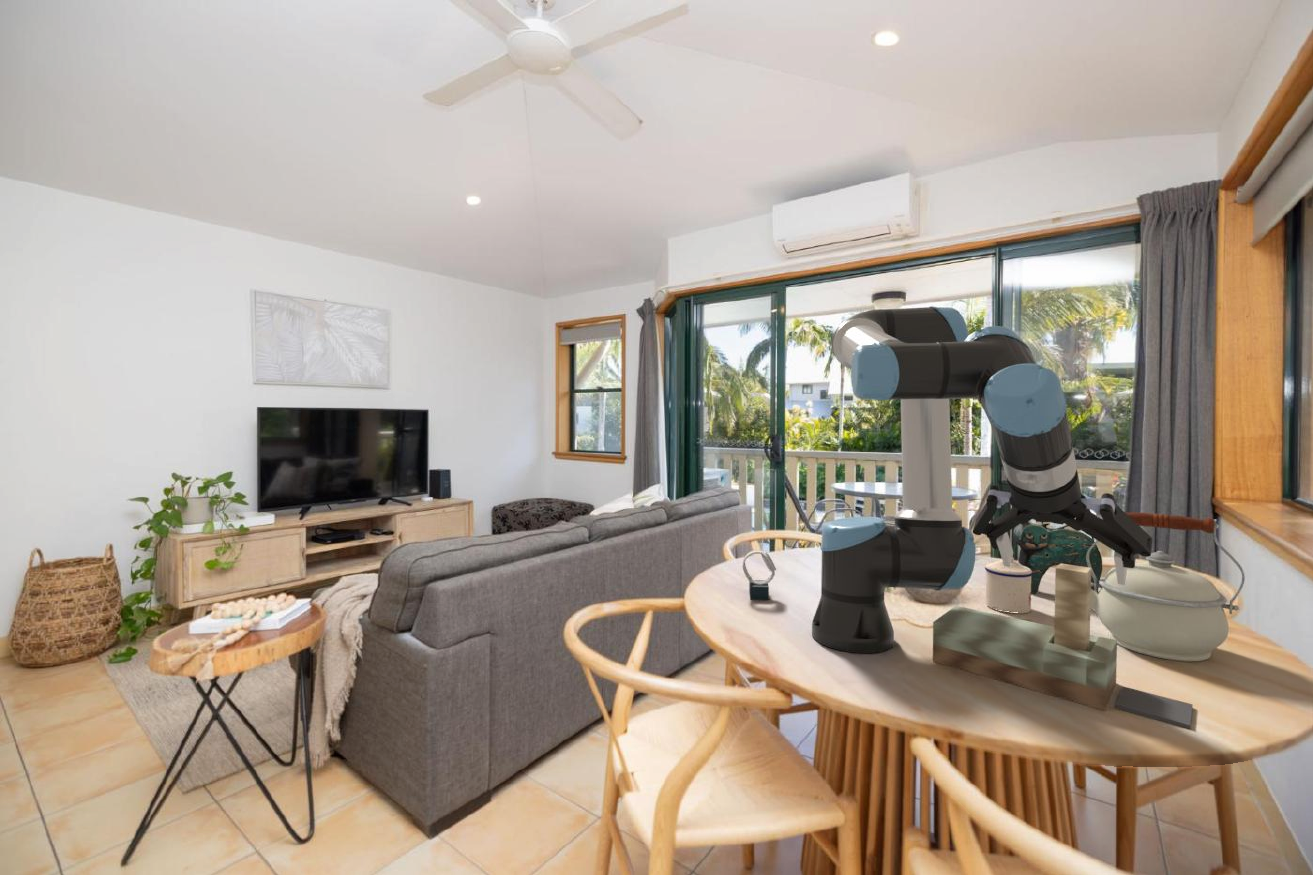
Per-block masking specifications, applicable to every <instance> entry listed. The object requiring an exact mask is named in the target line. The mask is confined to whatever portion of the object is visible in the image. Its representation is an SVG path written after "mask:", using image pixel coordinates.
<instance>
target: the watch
mask: <svg viewBox="0 0 1313 875" xmlns="http://www.w3.org/2000/svg"><path fill="white" fill-rule="evenodd" d="M755 554H757V555H758V554H760V555H761V557H762V560H763V562H764V563H765V566H766V568H767V569H768V570H769V571H770V572H771V575H770V576H769V577H768V578H767V579H765V580H763V579H762V580H761V579H759V580H758V579H756V580H755V579H753V576H752V575H751V574H750V573H749V570H748V569H747V566H746V560H747V559H748V558H749V557H750V556H752V555H755ZM742 570H743V573H744V575H745V578H747V580H748V585H749V586H748V587H749V590H748V592H749V599H750V600H751V601H755V600H756V601H769V600H770V598H769V596H770V592H769V591H770V589H769V588H770V587H769V583H770V582H771V581H772V580H773V579H774V577H775V574H776V573H775V571H777V568H776V565H775V564H774V562H773V559H772V558H771V556H770V554H769V553H768V552H767V551H763V550H758V549H755V550H751V551H749V552H748V553H747V554H745V556H744V557H743V560H742Z"/></svg>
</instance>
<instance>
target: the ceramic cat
mask: <svg viewBox="0 0 1313 875" xmlns="http://www.w3.org/2000/svg"><path fill="white" fill-rule="evenodd" d="M1049 525H1050V522H1041V524H1037V523H1033V522H1030V521H1028V522H1026V523H1025V524H1023V525H1021V524H1019V525H1017V526H1016V527H1014V528H1013V534H1012V536H1013V540H1014V542H1015V543H1016V544H1017V545H1018V546H1019V548H1020V550H1019V555H1018V561H1017V562H1018V563H1020V564H1021V565H1023V566H1025V567H1028V568H1030V569H1031V571H1032V573H1033V575H1032V576H1031V594H1039V591H1040V590H1039V589H1040V585H1041V581H1042V579H1043V577H1044V575H1045V574H1046V572H1047V571H1048V570H1049V569H1050V568H1052V567H1055V566H1058V565H1059V564H1061V563H1062V564H1069V565H1075V566H1082V567H1088V565H1087V561H1086V555H1087V551H1088V550H1089V548H1090V547H1091V546H1092V545H1093V544H1094V543H1095V542H1096V541H1095V539H1094V538H1093V537H1091V536H1090V535H1088V534H1086V533H1085V532H1083V531H1082V532H1081V531H1076V530H1074V529H1072V528H1071V529H1069V528H1067V527H1069V526H1068V525H1066V524H1064V525H1063V526H1059V527H1055V528H1049V527H1048V526H1049ZM1089 560H1090V564H1091V567H1092V570H1093V572H1094V574H1095V576H1096V578H1097V583H1098V584H1100V583H1099V580H1100V579H1101V578H1102V574H1103V557H1102V554H1101V552H1100V549H1099V547H1098V545H1097V544H1096V545H1094V546H1093V548H1092V549H1091V550H1090V553H1089ZM1091 582H1092V583H1094V579H1093V577H1092V575H1091ZM1091 589H1092V590H1094V587H1091ZM1096 592H1099V588H1097V591H1096Z"/></svg>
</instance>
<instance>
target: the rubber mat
mask: <svg viewBox="0 0 1313 875" xmlns="http://www.w3.org/2000/svg"><path fill="white" fill-rule="evenodd" d="M1115 709H1118V710H1121V711H1125V712H1128V713H1132V714H1135V715H1138V716H1143V717H1146V718H1149V719H1154V720H1157V721H1161V722H1164V723H1167V724H1171V725H1175V726H1178V727H1181V728H1185V729H1187V730H1188V729H1189V730H1191V724H1192V716H1193V703H1189V702H1184V701H1180V700H1178V699H1174V698H1170V697H1165V696H1161V695H1157V694H1154V693H1150V692H1146V691H1142V690H1139V689H1134V688H1131V687H1127V686H1122V687H1121V690H1120V692H1119V695H1118V698H1117V700H1116V703H1115Z"/></svg>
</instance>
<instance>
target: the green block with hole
mask: <svg viewBox="0 0 1313 875" xmlns="http://www.w3.org/2000/svg"><path fill="white" fill-rule="evenodd" d="M1054 628H1055V626H1054V625H1053V626H1052V625H1047V624H1043V623H1038V622H1034V621H1029V620H1024V619H1020V618H1019V619H1018V618H1015V617H1010V616H1007V615H1005V616H1004V615H1002V614H997V613H992V612H987V611H983V610H977V609H974V608H973V609H972V608H968V607H963V606H958V605H955V606H953V607H952V608H950V609H949V610H948V611H947V612H945V613H943V614H942V615H941V616H939V617H938V618H937V619H935V620H934V621H933V623H932V662H934V663H938V664H940V665H944V666H949V667H951V668H956V669H959V670H962V671H965V672H969V673H973V674H976V675H979V676H983V677H986V678H989V679H993V680H998V681H1000V682H1004V683H1008V684H1011V685H1014V686H1018V687H1022V688H1023V689H1024V688H1025V689H1029V690H1032V691H1036V692H1039V693H1042V694H1046V695H1049V696H1053V697H1057V698H1059V699H1062V700H1063V699H1064V700H1068V701H1071V702H1074V703H1077V704H1080V705H1084V706H1088V707H1091V708H1095V709H1098V710H1101V711H1106V710H1107V707H1108V705H1109V702H1110V700H1111V697H1112V695H1113V692H1114V689H1115V687H1116V684H1117V660H1118V659H1117V657H1118V644H1117V640H1113V639H1111V638H1108V637H1103V636H1099V635H1094V634H1090V650H1089V652H1087V651H1083V650H1078V649H1074V648H1070V647H1065V646H1061V645H1057V644H1054Z"/></svg>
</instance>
